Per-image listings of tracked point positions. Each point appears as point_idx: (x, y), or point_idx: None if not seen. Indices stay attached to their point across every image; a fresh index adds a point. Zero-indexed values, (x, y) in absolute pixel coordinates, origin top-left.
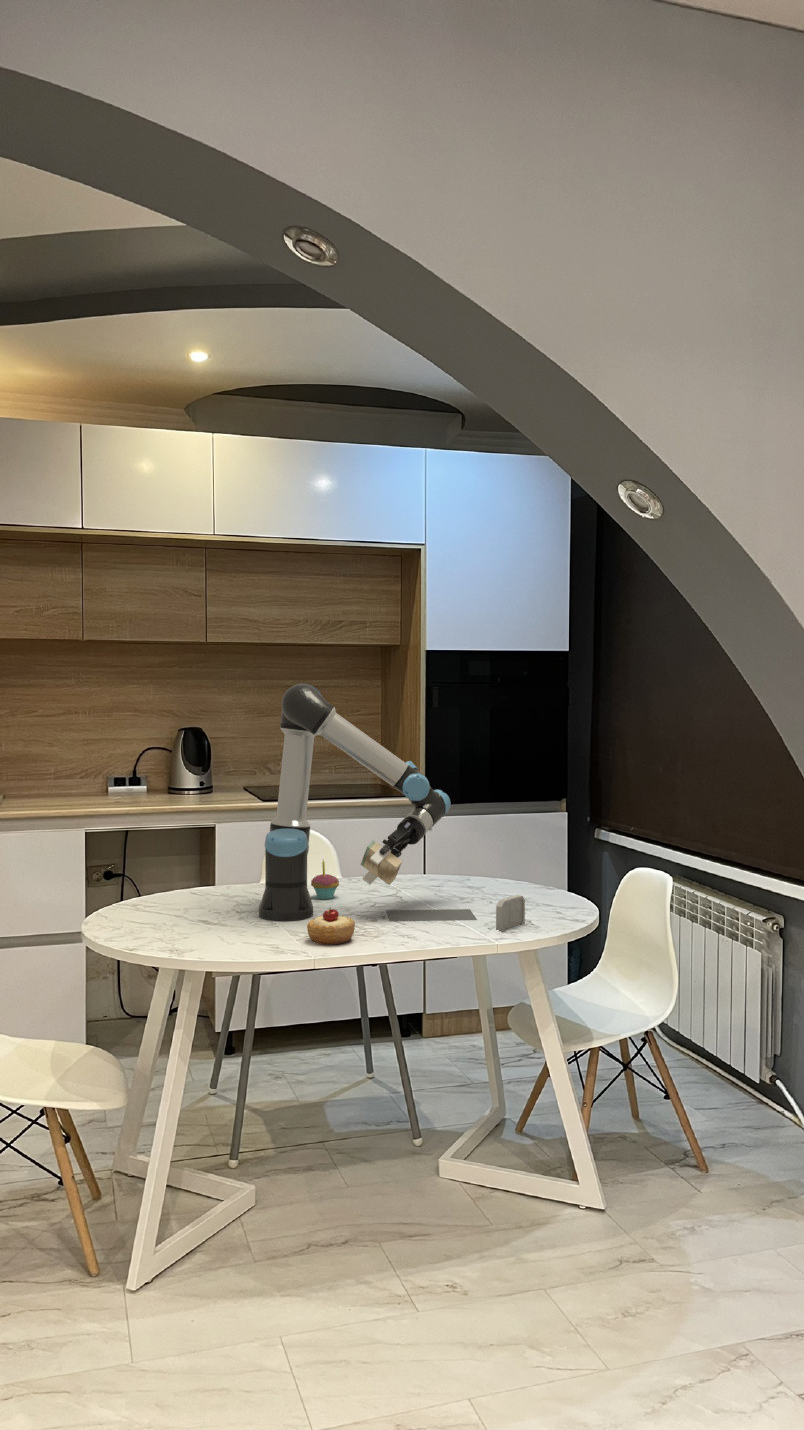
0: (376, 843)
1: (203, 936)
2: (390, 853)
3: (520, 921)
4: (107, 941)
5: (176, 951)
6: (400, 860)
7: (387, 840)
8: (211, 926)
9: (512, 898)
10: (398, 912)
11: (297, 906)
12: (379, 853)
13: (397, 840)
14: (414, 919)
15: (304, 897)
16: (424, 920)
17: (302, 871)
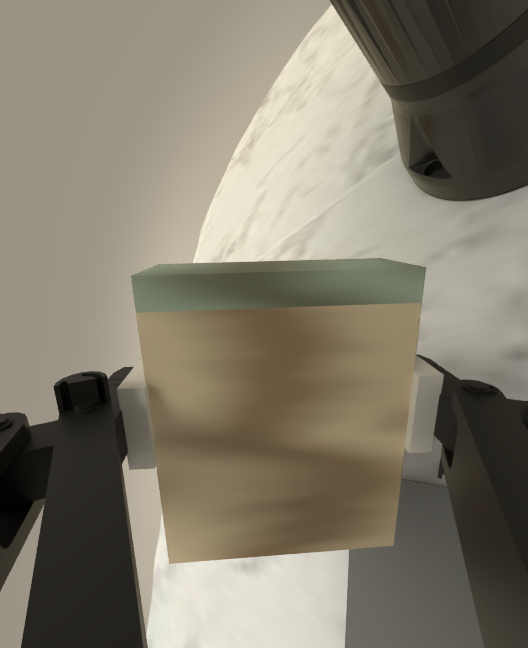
0: (140, 319)
1: (304, 119)
2: (159, 463)
3: None
4: (301, 45)
5: (246, 149)
6: (169, 545)
7: (59, 422)
8: (371, 72)
9: None
10: None
11: (407, 157)
12: None
13: (2, 539)
14: (371, 595)
15: (429, 140)
16: (349, 636)
17: (384, 47)
